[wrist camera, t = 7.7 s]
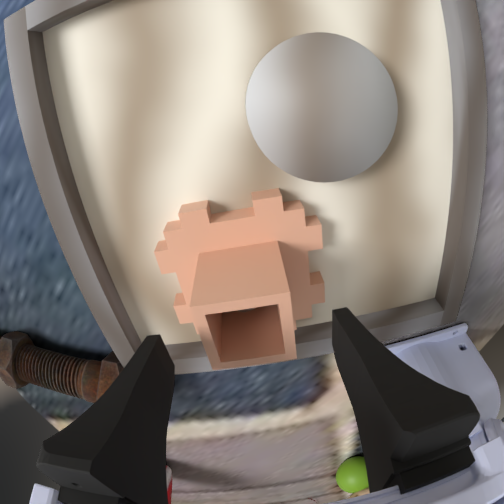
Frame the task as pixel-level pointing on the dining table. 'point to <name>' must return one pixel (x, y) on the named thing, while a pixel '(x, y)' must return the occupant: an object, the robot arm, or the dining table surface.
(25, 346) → the bolt
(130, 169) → the carrier plate
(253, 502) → the dining table surface
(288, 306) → the gear
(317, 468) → the dining table surface
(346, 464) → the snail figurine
